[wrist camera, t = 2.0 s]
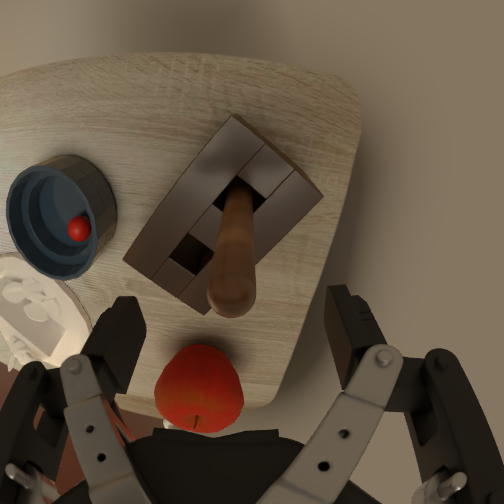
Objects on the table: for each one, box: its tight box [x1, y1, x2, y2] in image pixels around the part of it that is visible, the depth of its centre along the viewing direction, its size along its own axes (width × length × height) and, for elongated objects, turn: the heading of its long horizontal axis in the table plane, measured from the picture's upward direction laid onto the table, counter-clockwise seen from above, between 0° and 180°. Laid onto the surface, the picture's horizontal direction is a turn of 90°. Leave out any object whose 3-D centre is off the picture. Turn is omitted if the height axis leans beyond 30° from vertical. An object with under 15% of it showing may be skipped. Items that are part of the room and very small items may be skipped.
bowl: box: [6, 155, 116, 281], centre depth 30 cm, size 14×14×6 cm
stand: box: [122, 114, 324, 315], centre depth 29 cm, size 10×17×8 cm, turn 139°
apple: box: [154, 344, 244, 433], centre depth 38 cm, size 12×12×14 cm
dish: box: [0, 253, 93, 371], centre depth 36 cm, size 25×25×11 cm
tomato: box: [68, 215, 92, 242], centre depth 31 cm, size 3×3×3 cm
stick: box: [207, 175, 256, 318], centre depth 22 cm, size 2×2×22 cm
